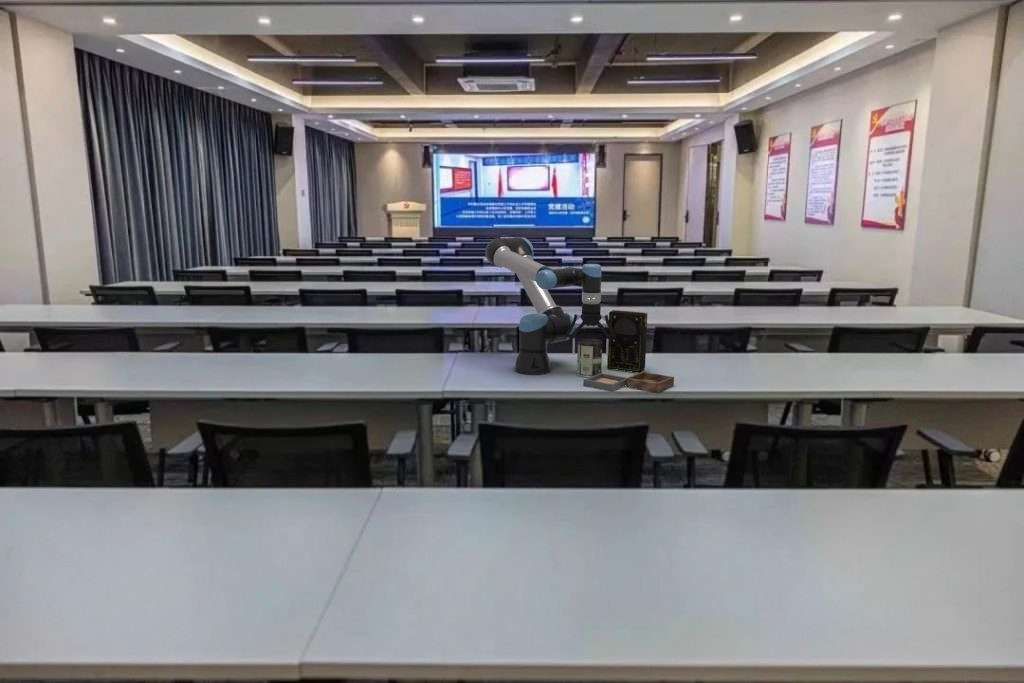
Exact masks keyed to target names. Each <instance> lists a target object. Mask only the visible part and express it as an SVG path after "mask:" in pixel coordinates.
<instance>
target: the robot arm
mask: <svg viewBox="0 0 1024 683" xmlns="http://www.w3.org/2000/svg"><path fill="white" fill-rule="evenodd" d="M484 250H485V252H484V254H485V258H486V260H487V262H488V263H490V264H491V265H493V266H495V267H497V268H499V269H500V268H505V269H507V270H510V272H513V273H515V274H516V276H517V278H518V279H519V282H520V284H521V285H522V287H523V289H524V291H525V293H526V294H527V297H528V299H530V302H531V304H532V305H533V307H534V309H535V311H536V313H528V314H525V315H523V316H522V317H521V318H520V320H519V326H518V331H519V334H518V335H519V346H518V348H519V352H518V355H517V357H516V362H515V364H514V371H515V370H516V371H517V372H516V371H515V372H516V373H519V372H520V373H519V374H523V373H524V375H543V374H548V373H550V372H551V371H552V364H551V362H550V358H549V355H548V345H549V344H555V343H559V342H560V343H563V342H565V341H569V345H570V346H569V347H572V355H575V354H576V337H575V336H576V335H577V334H578V333H579V332H580V330H581V329H582V328H583V327H584V326H587V327H588V326H589V327H590V326H593V327H595V326H597V327H598V328H599V329H600V331H602V333H603V334H604V335H605V336H606V343H605V344H606V346H605V347H606V348H605V356H608V347H611V339H612V338H615V337H616V334H615V332H614V330H613V328H612V326H611V324H610V322H609V314H607V313H606V314H604V315H602V314H601V302H602V301H601V300H602V289H601V288H602V277H603V276H602V266H601V265H600V264H599V263H585V264H583V265H582V268H580V267H573V266H570V267H569V266H567V267H566V266H565V267H562V268H551V267H548V266H547V265H544V264H542V263H539V262H538V261H535V260H534V253H535V252H534V247H533V244H532V243H531V241H530V240H529V239H527V238H526V237H519V236H514V237H499V238H493V239H491V241H489V242H488V243H487V245H486V247H485V249H484ZM567 287H570V288H571V287H580V288H581V302H582V303H581V314H577V313H574V315H572V314H570V313H568V312H564V310H563V308H562V307H561V306H560V305H557V304H556V303H555V301H554V299H553V297H552V296H551V294H550V292H549V290H552V289H560V288H567ZM579 319H581V321H582V322H581V323H580V324H579V325H578V326H577V327H576V323H577V321H579ZM601 319H602V320H603V321H605V324H606V325H607V328H608V329H609V330H610V332H611V334H612V335H610V334H609V333H608V330H607V329H606V328H605V327H604V325H603V324H602V323H601V322H600V321H601Z"/></svg>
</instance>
